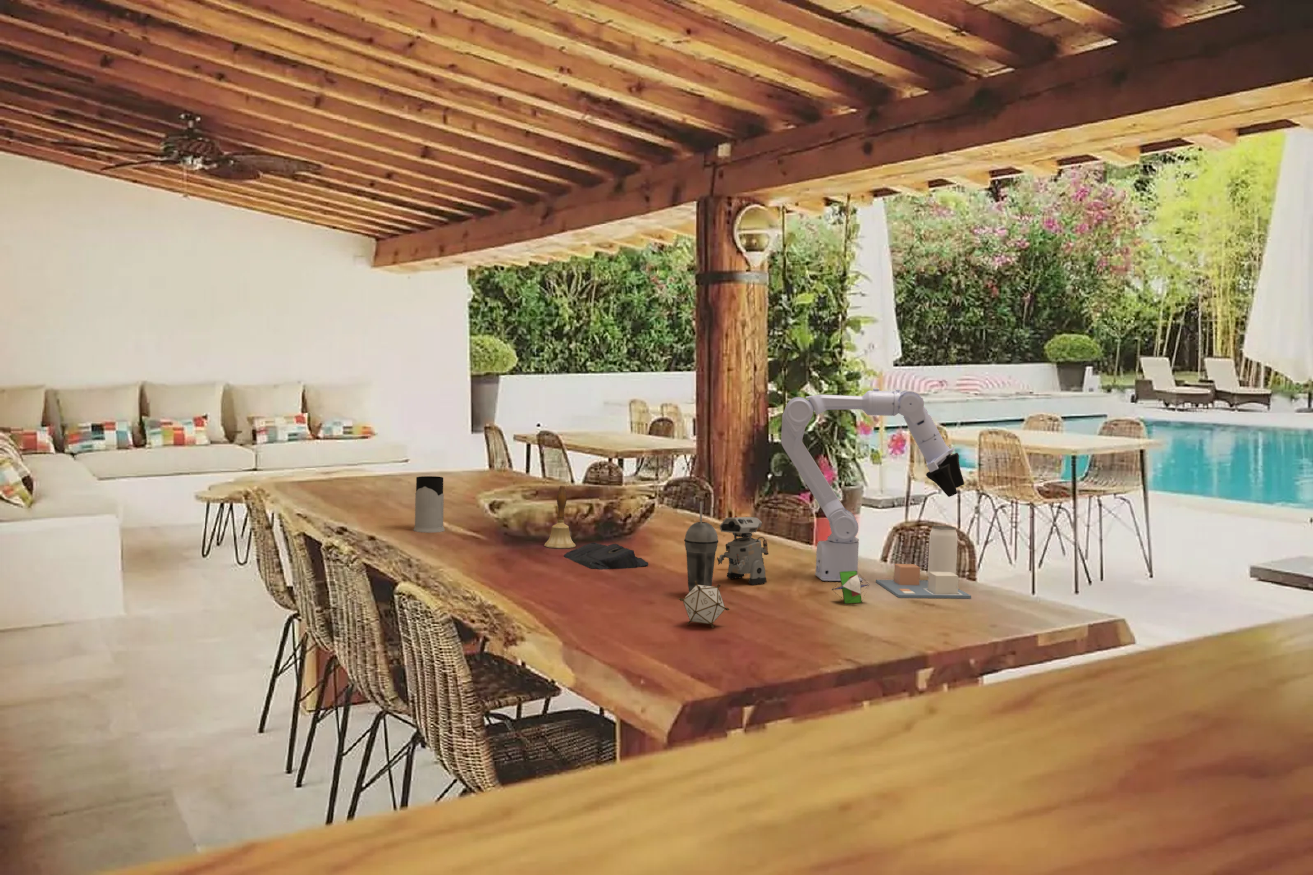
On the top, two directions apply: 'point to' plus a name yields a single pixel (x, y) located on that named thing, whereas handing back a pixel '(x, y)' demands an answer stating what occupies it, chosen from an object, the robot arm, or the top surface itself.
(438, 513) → the glass holder
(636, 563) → the dark slate chunk
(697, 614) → the game die
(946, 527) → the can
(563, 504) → the hand bell
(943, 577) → the base block
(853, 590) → the geometric puzzle
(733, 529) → the figurine
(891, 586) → the board
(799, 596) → the top surface
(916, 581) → the terracotta block
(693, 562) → the beverage cup
